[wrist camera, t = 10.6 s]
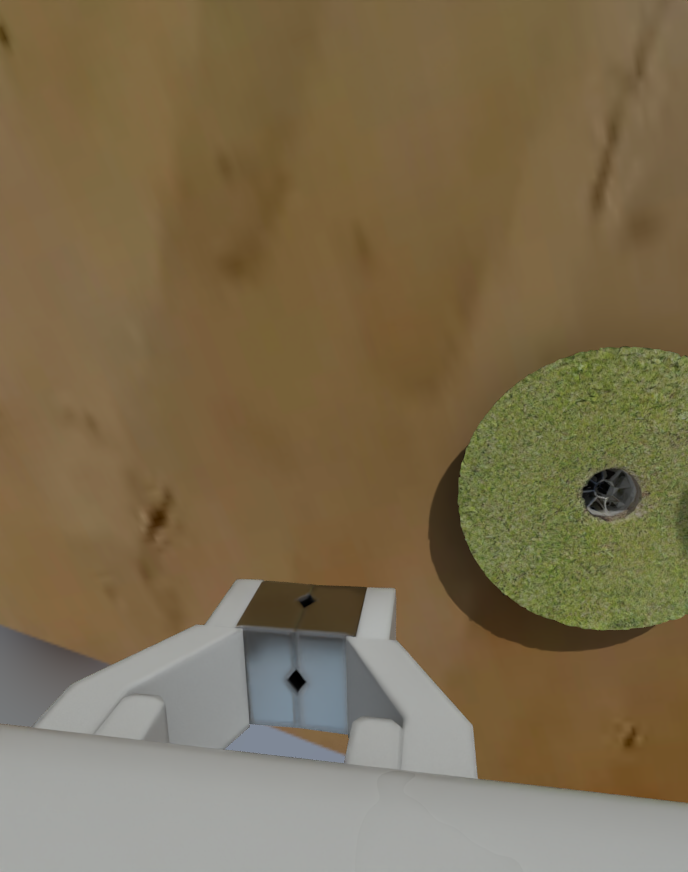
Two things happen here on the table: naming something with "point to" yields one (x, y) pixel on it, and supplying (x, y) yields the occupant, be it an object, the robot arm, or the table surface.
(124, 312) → the table surface
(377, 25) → the table surface
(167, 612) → the table surface
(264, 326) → the table surface
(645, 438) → the green flat disc
